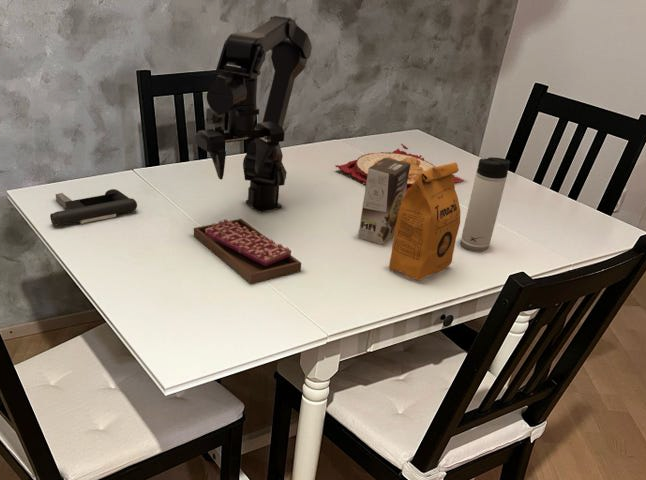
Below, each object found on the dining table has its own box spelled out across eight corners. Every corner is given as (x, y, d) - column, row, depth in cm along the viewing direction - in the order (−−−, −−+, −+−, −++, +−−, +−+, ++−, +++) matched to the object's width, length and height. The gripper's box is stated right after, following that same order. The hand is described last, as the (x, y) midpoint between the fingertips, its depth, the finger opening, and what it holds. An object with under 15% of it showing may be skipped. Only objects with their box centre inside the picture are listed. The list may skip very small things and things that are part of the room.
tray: (240, 226, 167) (241, 218, 166) (300, 271, 151) (301, 262, 150) (193, 236, 162) (193, 227, 161) (250, 284, 145) (250, 274, 144)
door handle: (30, 194, 170) (55, 216, 158) (111, 181, 179) (141, 200, 168) (32, 208, 171) (57, 231, 160) (112, 194, 181) (141, 214, 170)
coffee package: (457, 271, 154) (481, 168, 142) (417, 287, 148) (438, 180, 135) (421, 253, 161) (441, 153, 148) (381, 267, 154) (398, 164, 142)
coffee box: (383, 245, 163) (395, 174, 154) (357, 238, 165) (367, 167, 156) (399, 232, 169) (412, 163, 160) (374, 224, 172) (384, 156, 163)
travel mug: (474, 254, 161) (495, 165, 150) (454, 242, 166) (473, 154, 155) (495, 250, 164) (518, 161, 153) (475, 238, 169) (496, 151, 157)
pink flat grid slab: (228, 224, 163) (228, 216, 162) (290, 256, 152) (291, 247, 151) (203, 233, 158) (203, 225, 157) (265, 266, 148) (266, 257, 146)
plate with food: (332, 171, 200) (334, 159, 198) (398, 153, 213) (399, 141, 211) (398, 202, 185) (400, 189, 183) (464, 180, 199) (466, 168, 197)
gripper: (260, 87, 161) (256, 158, 170) (183, 95, 152) (183, 169, 161) (288, 101, 153) (283, 174, 162) (208, 110, 145) (207, 187, 154)
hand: (239, 175), depth 160 cm, fingers open, 9 cm apart
